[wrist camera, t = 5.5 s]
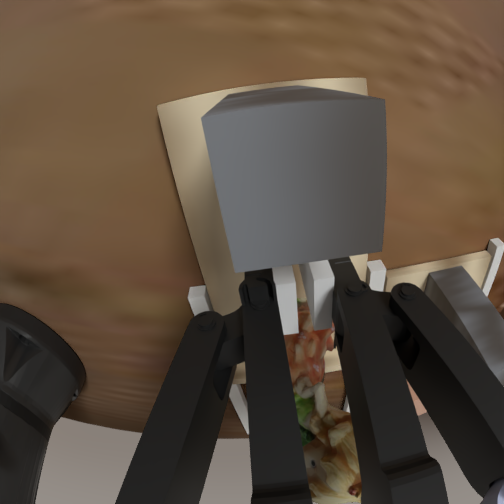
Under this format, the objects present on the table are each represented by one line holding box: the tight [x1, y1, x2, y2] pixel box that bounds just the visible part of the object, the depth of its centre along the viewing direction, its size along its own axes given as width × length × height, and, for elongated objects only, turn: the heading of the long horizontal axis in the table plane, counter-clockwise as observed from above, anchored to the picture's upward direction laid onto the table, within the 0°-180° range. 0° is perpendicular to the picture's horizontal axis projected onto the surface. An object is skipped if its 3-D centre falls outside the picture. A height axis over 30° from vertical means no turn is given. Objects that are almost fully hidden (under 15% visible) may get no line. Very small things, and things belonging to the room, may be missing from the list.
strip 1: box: [157, 78, 387, 384], centre depth 15 cm, size 11×22×11 cm, turn 9°
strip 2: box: [383, 251, 504, 386], centre depth 22 cm, size 11×22×11 cm, turn 9°
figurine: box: [284, 298, 362, 504], centre depth 17 cm, size 9×8×15 cm
